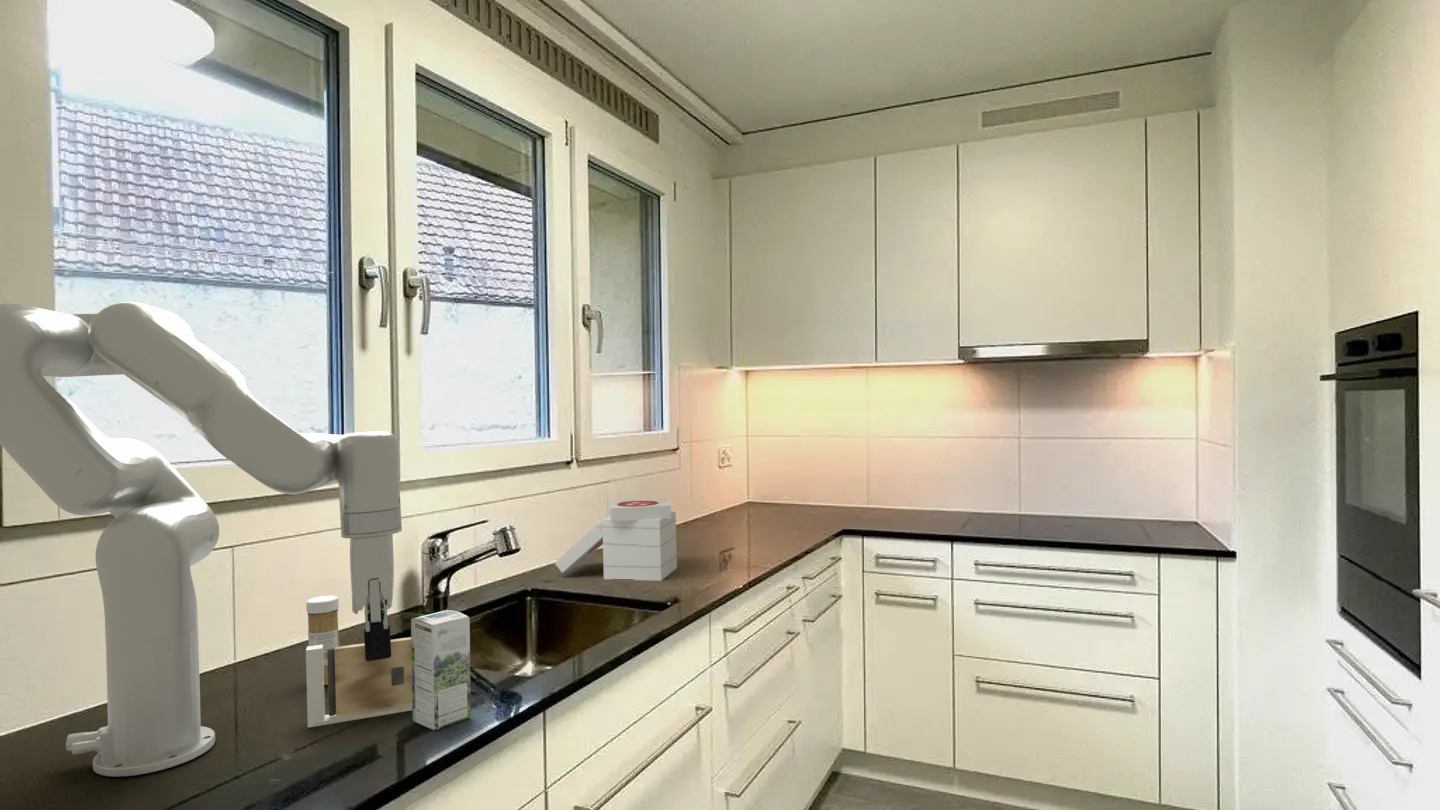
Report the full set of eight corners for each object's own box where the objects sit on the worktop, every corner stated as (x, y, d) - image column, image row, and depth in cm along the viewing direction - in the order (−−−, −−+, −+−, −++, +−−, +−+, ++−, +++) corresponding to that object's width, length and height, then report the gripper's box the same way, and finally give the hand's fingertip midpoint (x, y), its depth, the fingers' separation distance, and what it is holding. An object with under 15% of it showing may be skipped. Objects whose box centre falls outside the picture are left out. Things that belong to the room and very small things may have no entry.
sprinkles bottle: (341, 675, 128) (339, 593, 128) (338, 684, 124) (336, 599, 124) (310, 679, 127) (308, 596, 127) (306, 689, 122) (304, 602, 122)
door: (328, 717, 109) (326, 650, 109) (329, 713, 110) (327, 648, 110) (413, 703, 113) (411, 639, 113) (412, 700, 114) (411, 637, 114)
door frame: (307, 727, 107) (305, 650, 107) (309, 721, 109) (307, 646, 109) (432, 706, 114) (430, 634, 114) (431, 701, 116) (429, 630, 116)
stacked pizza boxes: (580, 564, 214) (578, 498, 214) (686, 566, 208) (684, 498, 208) (550, 580, 195) (548, 507, 195) (666, 583, 189) (664, 508, 189)
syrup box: (449, 708, 113) (446, 608, 113) (472, 718, 109) (470, 614, 109) (411, 721, 108) (409, 616, 108) (435, 732, 105) (432, 623, 105)
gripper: (343, 519, 112) (349, 647, 112) (338, 533, 98) (345, 680, 98) (400, 513, 115) (406, 639, 115) (402, 527, 101) (410, 669, 101)
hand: (378, 657), depth 106 cm, fingers closed
